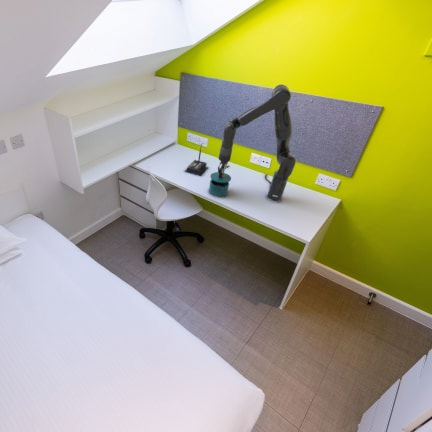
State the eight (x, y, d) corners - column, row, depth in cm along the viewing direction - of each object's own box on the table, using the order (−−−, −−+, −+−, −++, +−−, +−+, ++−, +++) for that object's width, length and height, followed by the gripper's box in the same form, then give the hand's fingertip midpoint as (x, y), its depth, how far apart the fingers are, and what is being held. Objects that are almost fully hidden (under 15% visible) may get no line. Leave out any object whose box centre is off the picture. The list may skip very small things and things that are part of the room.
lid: (214, 171, 209) (216, 163, 205) (233, 177, 203) (235, 169, 199) (207, 179, 199) (208, 171, 196) (226, 185, 194) (228, 177, 190)
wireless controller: (201, 176, 227) (204, 155, 217) (184, 171, 232) (186, 151, 222) (209, 165, 241) (213, 146, 230) (194, 161, 246) (196, 142, 236)
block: (215, 189, 210) (216, 184, 208) (221, 191, 208) (223, 186, 206) (213, 192, 207) (214, 187, 204) (219, 194, 205) (220, 189, 203)
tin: (212, 186, 215) (214, 176, 210) (229, 191, 210) (231, 181, 205) (205, 194, 207) (207, 183, 202) (222, 199, 201) (225, 189, 196)
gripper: (227, 158, 184) (222, 182, 194) (234, 150, 193) (229, 173, 203) (216, 155, 187) (211, 179, 197) (223, 147, 196) (219, 170, 207)
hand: (220, 176), depth 200 cm, fingers closed on lid, 2 cm apart
